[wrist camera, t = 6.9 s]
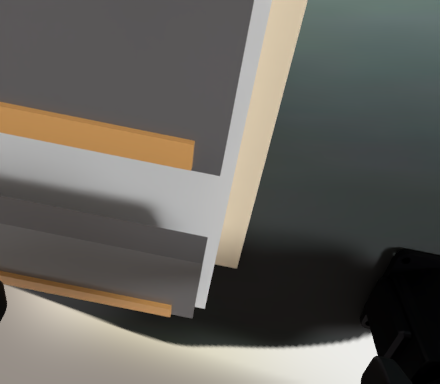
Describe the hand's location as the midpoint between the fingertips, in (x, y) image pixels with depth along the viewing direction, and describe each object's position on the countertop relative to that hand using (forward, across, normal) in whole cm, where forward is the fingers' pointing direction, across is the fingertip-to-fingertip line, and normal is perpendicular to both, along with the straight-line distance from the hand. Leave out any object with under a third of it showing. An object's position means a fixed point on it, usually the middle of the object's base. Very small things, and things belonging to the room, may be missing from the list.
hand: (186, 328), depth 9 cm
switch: (+6, +6, +4) cm, 9 cm away
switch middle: (+6, +6, -4) cm, 9 cm away
